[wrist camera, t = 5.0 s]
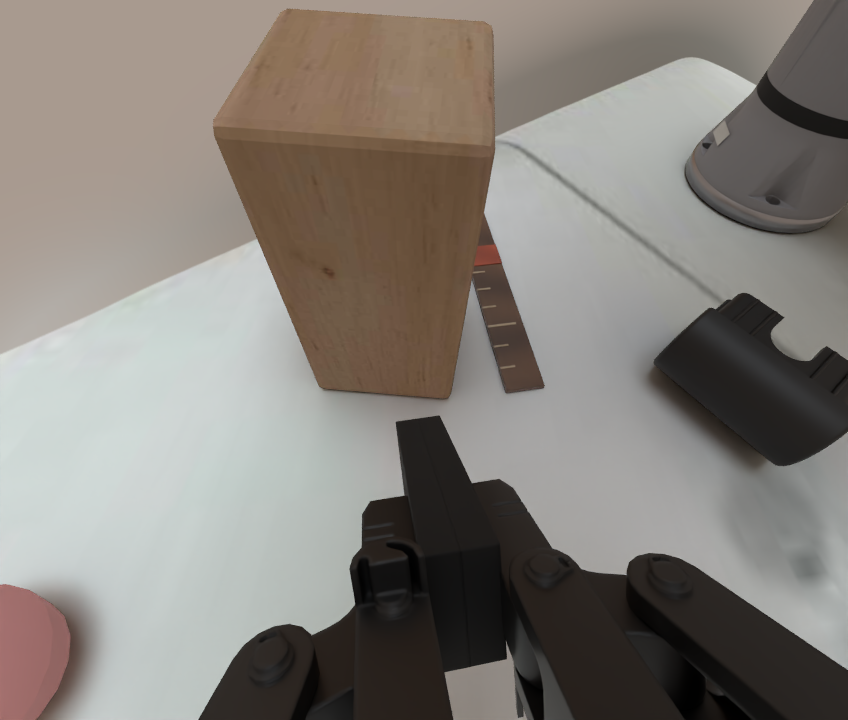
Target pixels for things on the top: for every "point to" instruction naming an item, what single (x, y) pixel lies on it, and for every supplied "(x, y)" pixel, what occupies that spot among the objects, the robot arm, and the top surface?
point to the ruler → (503, 318)
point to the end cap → (760, 381)
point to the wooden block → (368, 186)
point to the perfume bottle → (29, 653)
